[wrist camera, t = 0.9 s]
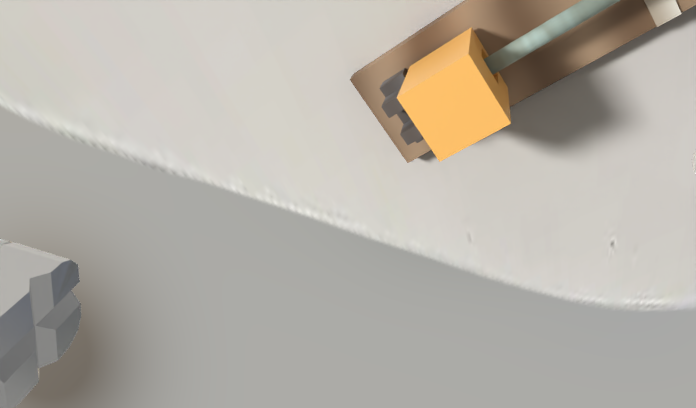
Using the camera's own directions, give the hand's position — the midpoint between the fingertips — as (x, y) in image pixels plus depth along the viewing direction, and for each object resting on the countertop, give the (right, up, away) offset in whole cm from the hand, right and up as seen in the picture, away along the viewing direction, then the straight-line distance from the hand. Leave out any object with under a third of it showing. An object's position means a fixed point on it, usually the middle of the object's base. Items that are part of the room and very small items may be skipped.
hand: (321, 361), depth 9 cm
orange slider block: (+8, +11, +32) cm, 35 cm away
